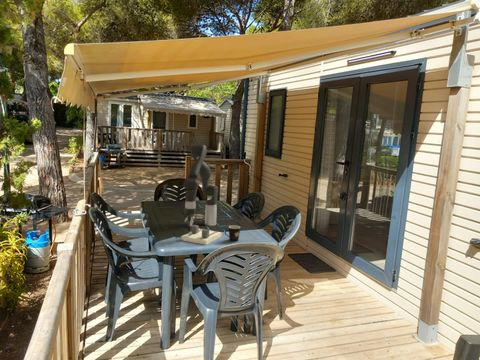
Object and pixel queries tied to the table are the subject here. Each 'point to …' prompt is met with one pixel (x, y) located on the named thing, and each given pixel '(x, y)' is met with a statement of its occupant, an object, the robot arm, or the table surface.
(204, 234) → the slider
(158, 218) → the table surface
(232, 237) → the coffee mug
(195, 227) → the slider
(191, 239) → the switch panel
